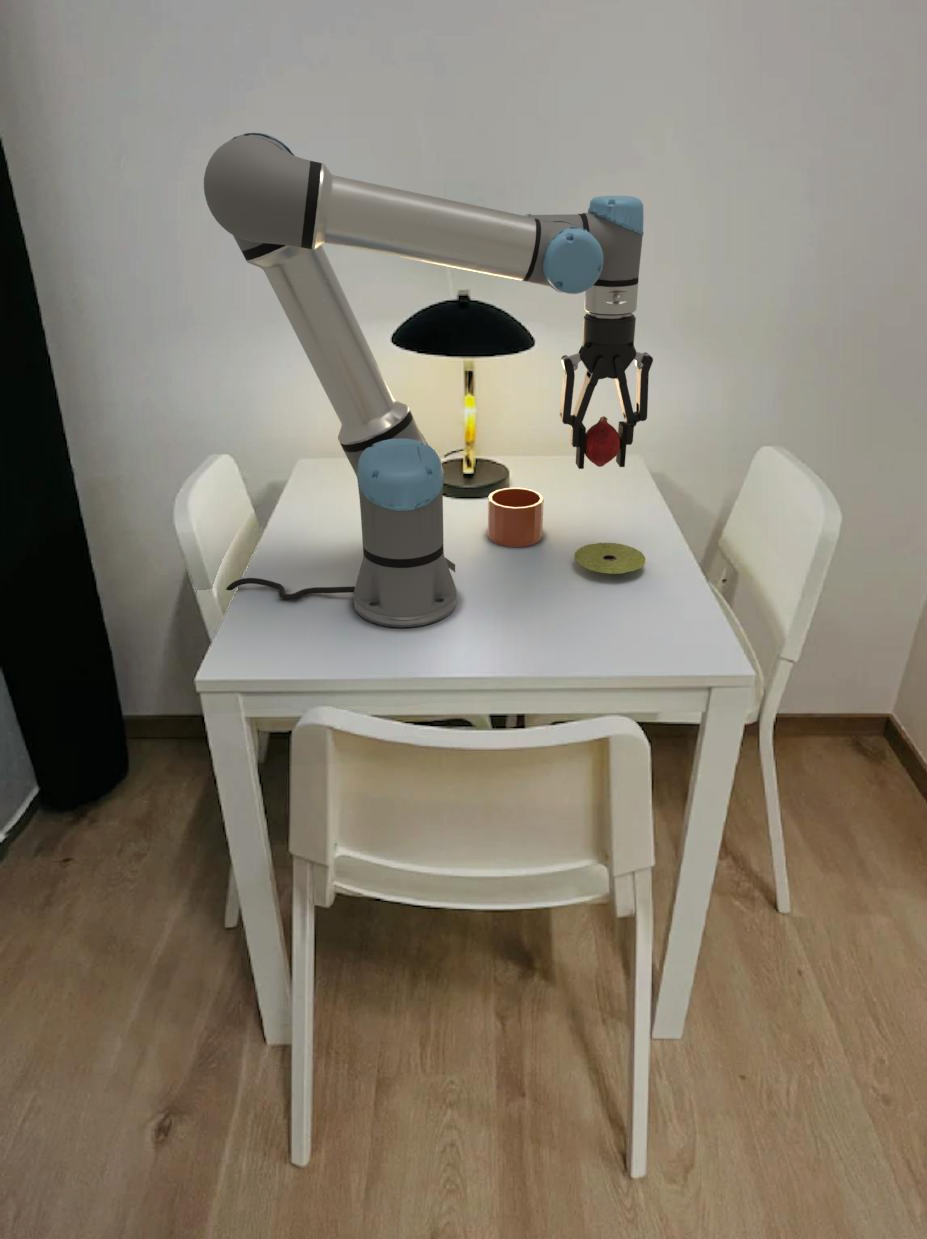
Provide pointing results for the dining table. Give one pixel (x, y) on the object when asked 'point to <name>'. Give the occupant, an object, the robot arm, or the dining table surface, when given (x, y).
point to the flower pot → (515, 517)
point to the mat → (609, 558)
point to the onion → (601, 442)
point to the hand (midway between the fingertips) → (599, 464)
